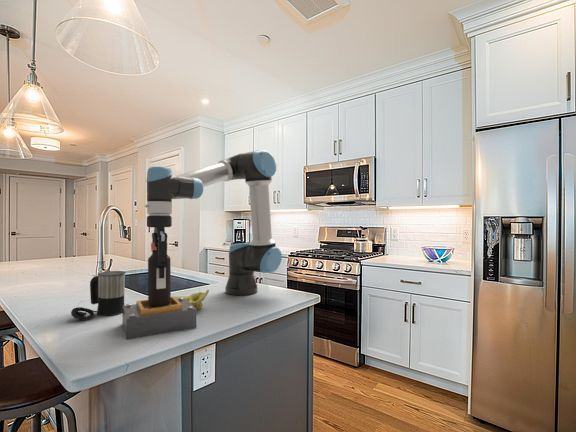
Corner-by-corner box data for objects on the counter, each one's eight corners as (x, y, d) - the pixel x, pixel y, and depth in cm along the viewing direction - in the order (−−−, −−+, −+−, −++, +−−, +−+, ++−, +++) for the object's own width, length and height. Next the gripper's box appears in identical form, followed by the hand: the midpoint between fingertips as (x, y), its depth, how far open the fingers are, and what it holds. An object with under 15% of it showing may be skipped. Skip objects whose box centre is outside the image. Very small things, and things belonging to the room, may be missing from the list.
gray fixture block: (184, 314, 116) (184, 294, 116) (196, 327, 103) (196, 304, 103) (122, 324, 106) (122, 301, 106) (126, 339, 92) (126, 313, 92)
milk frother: (130, 309, 124) (130, 270, 124) (106, 322, 108) (107, 278, 108) (93, 309, 124) (93, 270, 124) (64, 322, 108) (64, 278, 108)
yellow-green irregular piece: (152, 304, 122) (165, 287, 131) (158, 319, 125) (171, 302, 134) (199, 303, 118) (210, 286, 127) (205, 319, 121) (215, 301, 130)
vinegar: (163, 307, 100) (163, 243, 100) (143, 307, 101) (143, 243, 101) (174, 302, 107) (174, 242, 107) (155, 301, 108) (155, 241, 108)
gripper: (143, 215, 111) (142, 282, 111) (151, 214, 95) (151, 293, 94) (166, 215, 115) (165, 280, 115) (177, 214, 98) (177, 290, 98)
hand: (159, 286), depth 104 cm, fingers closed on vinegar, 6 cm apart
